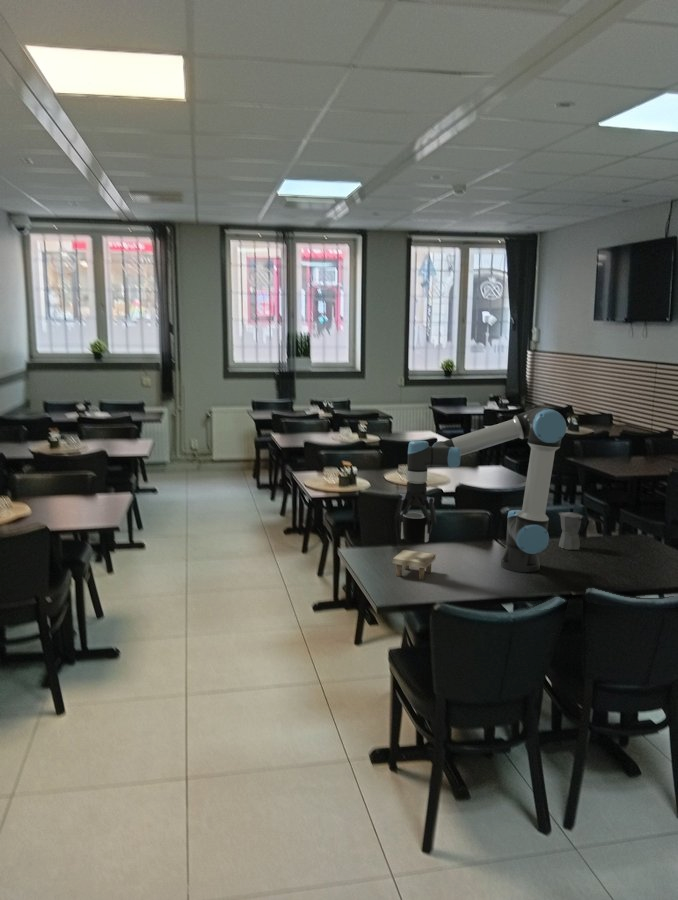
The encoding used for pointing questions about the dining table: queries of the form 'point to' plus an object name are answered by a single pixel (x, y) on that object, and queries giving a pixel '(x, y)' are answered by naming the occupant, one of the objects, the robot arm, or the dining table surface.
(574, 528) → the coffeepot
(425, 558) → the footstool
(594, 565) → the dining table surface
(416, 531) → the mug
